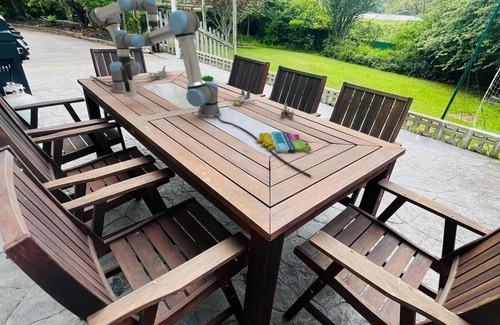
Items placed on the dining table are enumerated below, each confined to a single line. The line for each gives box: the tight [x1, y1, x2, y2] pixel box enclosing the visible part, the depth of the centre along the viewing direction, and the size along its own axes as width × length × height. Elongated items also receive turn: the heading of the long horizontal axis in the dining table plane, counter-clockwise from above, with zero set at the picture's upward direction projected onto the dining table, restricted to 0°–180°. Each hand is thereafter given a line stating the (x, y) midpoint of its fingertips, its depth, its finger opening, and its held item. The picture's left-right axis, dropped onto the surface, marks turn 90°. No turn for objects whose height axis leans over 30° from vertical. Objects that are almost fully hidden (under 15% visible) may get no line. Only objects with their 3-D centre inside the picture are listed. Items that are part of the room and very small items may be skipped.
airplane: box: [145, 65, 172, 83], centre depth 274 cm, size 38×31×10 cm
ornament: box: [202, 74, 215, 82], centre depth 248 cm, size 21×8×15 cm, turn 105°
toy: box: [223, 89, 257, 106], centre depth 219 cm, size 28×7×30 cm
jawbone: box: [280, 103, 295, 120], centre depth 192 cm, size 9×15×10 cm
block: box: [122, 79, 138, 98], centre depth 185 cm, size 7×6×10 cm
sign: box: [256, 131, 312, 154], centre depth 152 cm, size 26×2×30 cm
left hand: (156, 50), depth 209 cm, fingers open, 13 cm apart
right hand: (129, 90), depth 186 cm, fingers closed on block, 6 cm apart
